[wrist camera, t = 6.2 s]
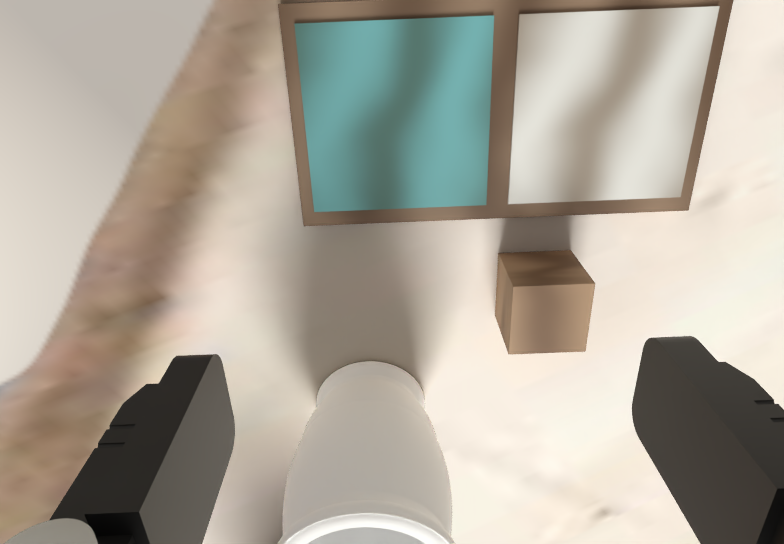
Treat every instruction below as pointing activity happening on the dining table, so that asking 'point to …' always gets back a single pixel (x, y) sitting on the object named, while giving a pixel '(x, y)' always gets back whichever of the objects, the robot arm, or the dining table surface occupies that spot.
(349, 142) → the board
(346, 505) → the jar
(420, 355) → the dining table surface
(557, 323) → the walnut block
